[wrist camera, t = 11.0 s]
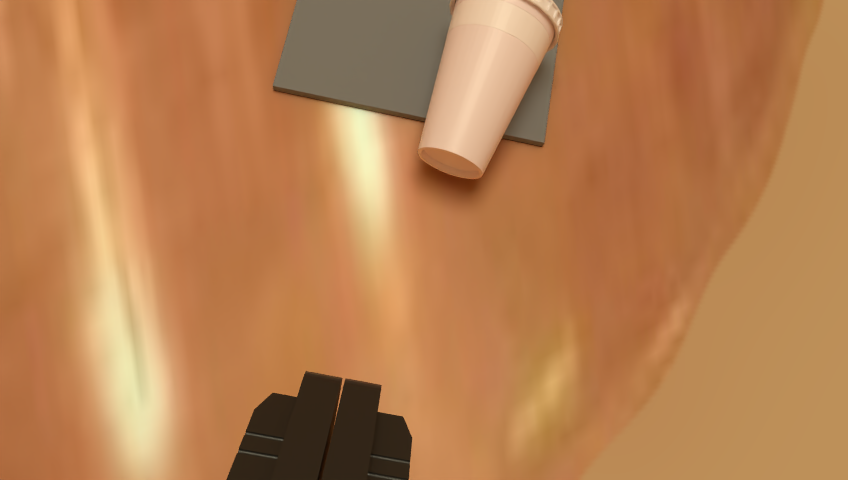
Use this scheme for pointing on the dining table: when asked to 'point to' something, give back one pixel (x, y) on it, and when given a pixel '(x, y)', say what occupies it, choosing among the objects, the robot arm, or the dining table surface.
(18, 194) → the dining table surface
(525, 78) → the smoothie
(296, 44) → the mat
